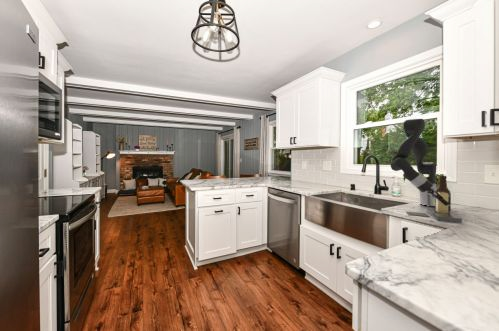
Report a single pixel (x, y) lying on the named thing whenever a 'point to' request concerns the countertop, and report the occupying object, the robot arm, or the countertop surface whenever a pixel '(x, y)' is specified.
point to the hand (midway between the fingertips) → (446, 203)
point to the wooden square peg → (440, 206)
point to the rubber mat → (417, 214)
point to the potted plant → (444, 190)
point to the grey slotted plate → (444, 216)
